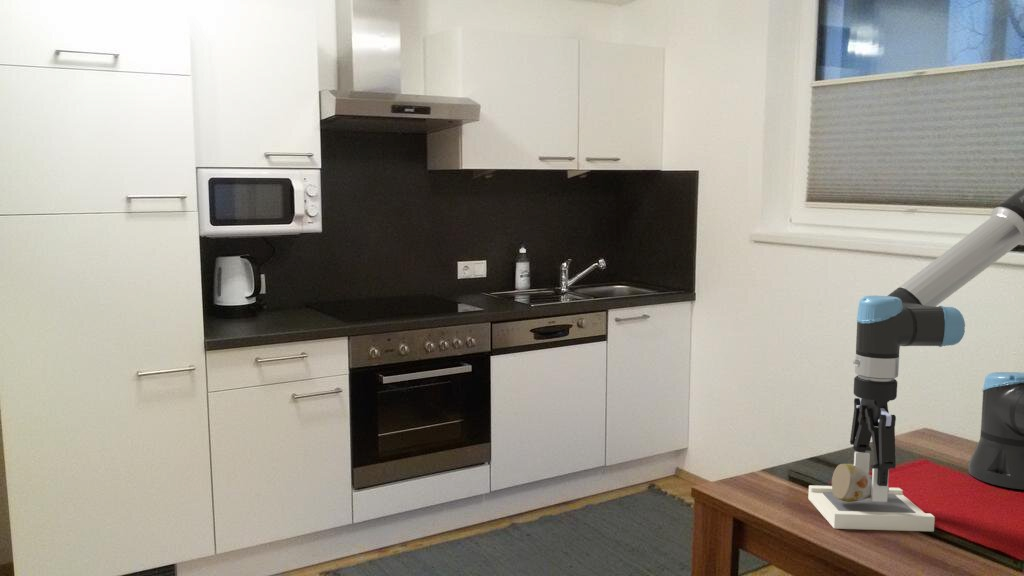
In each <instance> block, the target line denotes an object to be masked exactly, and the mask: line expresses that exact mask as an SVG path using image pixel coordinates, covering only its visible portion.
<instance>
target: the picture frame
mask: <svg viewBox="0 0 1024 576" xmlns="http://www.w3.org/2000/svg"><path fill="white" fill-rule="evenodd" d="M903 492H904V490H903V489H901V488H900V487H889V492H888V496H887V502H876V501H871V498H867V499H863V500H859V501H855V502H846V501H842V500H840V499H837V498H836V497H835V496H834V494H833V491H832V485H811V484H810V485H808V495H807V496H808V498H807V499H808V500H809V501H810V503H811V504H812V505H813V506H814V507H815V508H816V509H817V510H818V512H820V514H821V515H822V516H823V518H824V519H825V520H827V522H828V523H829V524H830V526H832V528H833V529H838V530H839V529H840V530H842V529H843V530H865V531H867V530H870V531H872V530H874V531H875V530H876V531H904V532H905V531H907V532H909V531H910V532H934V531H935V523H936V522H935V520H936V517H935V516H934V515H933V514H932V513H925V512H924V511H923V510H922V509H921V508H919V506H917V505H916V504H915V503H913V502H912V501H911V500H910V499H909V498H908V497H906V495H904V493H903Z"/></svg>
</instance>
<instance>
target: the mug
mask: <svg viewBox="0 0 1024 576" xmlns="http://www.w3.org/2000/svg"><path fill="white" fill-rule="evenodd" d="M831 486H832V491H833V494H834V496H835V497H836V498H837V499H840V500H842V501H846V502H855V501H859V500H863V499H867V498H871V488H872V475H871V474H870V473H869V474H868V473H866V472H865V471H863V470H862V469H860V468H858V467H857V466H854V464H851V463H840V464H837V466H836V467H835V469H834V471H833V473H832V478H831ZM889 488H890V487H889V486H888V492H889Z"/></svg>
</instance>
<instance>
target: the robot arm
mask: <svg viewBox="0 0 1024 576" xmlns="http://www.w3.org/2000/svg"><path fill="white" fill-rule="evenodd" d="M1018 245H1019V246H1024V187H1023V188H1020V189H1019V190H1018V191H1016V192H1015V193H1013V194H1012V195H1011V196H1009V197H1008V198H1006V199H1005V200H1003V201H1002V202H1001V203H1000V204H999V205H997V206H996V207H994V208H993V209H991V211H990V217H989V218H988V219H987V220H985V221H984V222H983V223H981V224H980V225H979V226H978V227H976V228H975V229H973V230H972V231H971V232H970V233H968V234H967V235H965V236H964V237H963V238H962V239H960V240H959V241H958V242H956V243H955V244H954V245H952V246H951V247H949V249H947V250H946V251H945V252H943V253H942V254H941V255H939V256H938V257H937V258H935V259H934V260H933V261H932V262H930V263H929V264H928V265H926V266H925V267H924V268H922V269H921V270H920V271H918V272H917V273H916V274H914V275H913V276H912V277H910V278H909V279H907V280H906V281H905V282H904V283H902V285H899V287H897V288H896V289H894V290H893V291H892V292H890V293H889V294H888V295H866V296H865V295H864V296H863V297H861V298H860V299H859V301H858V307H857V314H856V315H857V316H856V343H855V359H853V360H852V364H853V365H854V374H856V376H855V377H854V378H853V395H854V396H855V398H854V400H853V405H854V409H853V416H852V425H851V431H850V438H849V444H850V445H851V446H852V445H853V446H852V449H853V450H854V453H853V454H854V455H853V465H854V466H857V467H858V468H860V469H862V470H863V471H865V472H866V473H868V474H869V475H870V467H871V469H872V470H871V472H872V475H871V476H872V488H871V501H876V502H887V496H888V487H889V477H890V476H889V474H890V469H896V466H897V465H896V436H895V435H896V430H895V427H896V421H897V418H896V414H890V412H889V406H888V403H889V402H890V401H894V400H896V399H897V396H898V381H897V379H896V378H898V376H899V369H900V368H899V367H900V351H901V350H900V348H901V347H939V348H941V347H947V346H955V345H957V344H959V343H960V342H961V340H962V339H963V337H964V335H965V331H966V330H965V329H966V322H965V318H964V316H963V313H962V312H961V311H960V310H959V309H957V308H955V307H953V306H942V305H940V304H941V303H942V302H944V301H945V300H947V299H948V298H949V297H951V296H952V295H953V294H955V293H956V292H957V291H958V290H960V289H961V288H963V286H965V285H966V284H968V283H969V282H971V281H972V280H974V278H976V277H977V276H978V275H980V274H981V273H982V272H984V271H985V270H986V269H988V268H990V266H992V265H993V264H994V263H996V262H997V261H999V260H1000V259H1001V258H1002V257H1004V256H1005V255H1007V254H1008V253H1009V252H1010V251H1012V250H1013V249H1014V248H1016V247H1017V246H1018ZM856 397H857V398H856ZM981 406H982V407H981V422H980V433H979V434H980V435H979V440H978V443H977V445H976V446H975V449H974V451H973V454H972V455H971V457H970V460H968V473H969V475H971V476H972V477H974V479H977V480H979V481H981V482H984V483H987V484H991V485H993V486H998V487H1002V488H1009V489H1014V490H1015V489H1017V490H1024V372H1020V371H1019V372H1017V371H1016V372H1014V371H1011V372H1010V371H1004V372H1003V371H1001V372H999V371H998V372H990V373H988V374H987V375H986V376H985V378H984V383H983V388H982V405H981ZM871 440H872V448H873V459H874V464H872V465H870V461H871V460H870V459H871V451H872V448H871V446H870V443H871Z"/></svg>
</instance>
